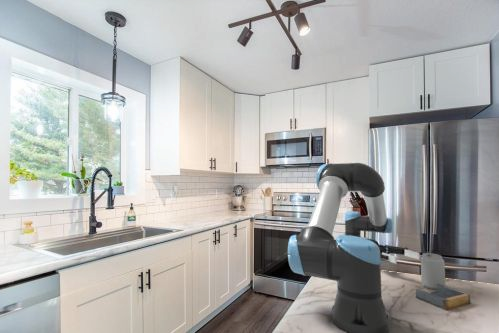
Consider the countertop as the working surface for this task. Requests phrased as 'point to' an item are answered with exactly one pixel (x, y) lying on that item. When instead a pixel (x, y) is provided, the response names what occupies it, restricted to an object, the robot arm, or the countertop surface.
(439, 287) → the open rectangular tray
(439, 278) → the can
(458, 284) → the countertop surface
